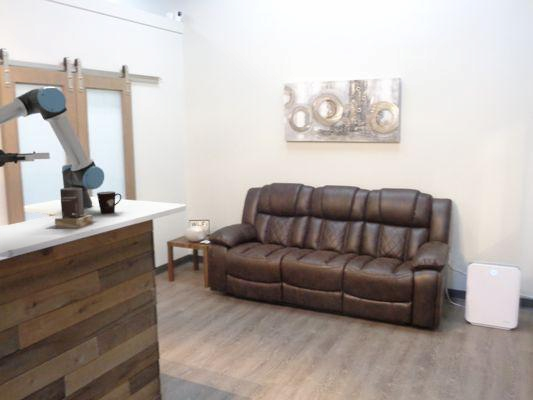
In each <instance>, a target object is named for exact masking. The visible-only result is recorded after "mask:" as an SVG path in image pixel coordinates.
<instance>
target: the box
mask: <svg viewBox="0 0 533 400" xmlns="http://www.w3.org/2000/svg"><path fill="white" fill-rule="evenodd" d="M60 207H61V216H62V218H74V219H78V218H80V216H79V205H78V197H63V198H61V197H60Z"/></svg>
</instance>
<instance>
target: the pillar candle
mask: <svg viewBox="0 0 533 400" xmlns="http://www.w3.org/2000/svg"><path fill="white" fill-rule="evenodd" d="M70 187H71V186H70ZM59 193H60V199H61V198H63V197H78V205H79V215H85V210H84V209H85V208H84V207H83V195H82V188H64V187H63V188H60V192H59Z"/></svg>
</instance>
